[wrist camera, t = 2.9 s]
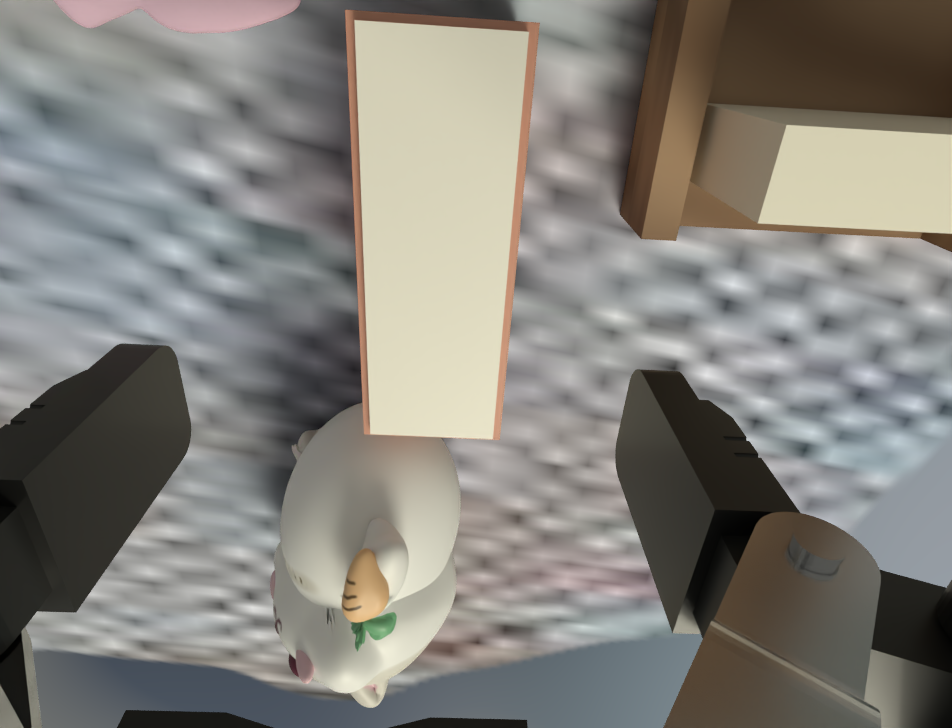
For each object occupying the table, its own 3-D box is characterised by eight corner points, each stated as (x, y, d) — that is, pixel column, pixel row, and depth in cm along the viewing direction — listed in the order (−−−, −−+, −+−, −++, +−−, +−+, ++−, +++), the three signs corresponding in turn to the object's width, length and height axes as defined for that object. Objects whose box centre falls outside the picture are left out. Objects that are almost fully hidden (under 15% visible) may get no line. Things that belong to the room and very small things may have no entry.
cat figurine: (326, 501, 17) (312, 815, 23) (535, 452, 22) (480, 725, 27) (249, 374, 24) (253, 636, 30) (418, 356, 29) (393, 588, 34)
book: (384, 20, 19) (342, 9, 13) (517, 29, 20) (540, 22, 13) (389, 339, 25) (362, 438, 19) (492, 344, 25) (499, 444, 19)
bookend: (700, 102, 19) (786, 125, 14) (968, 119, 19) (1151, 146, 14) (683, 176, 20) (757, 223, 15) (936, 191, 21) (1095, 241, 15)
